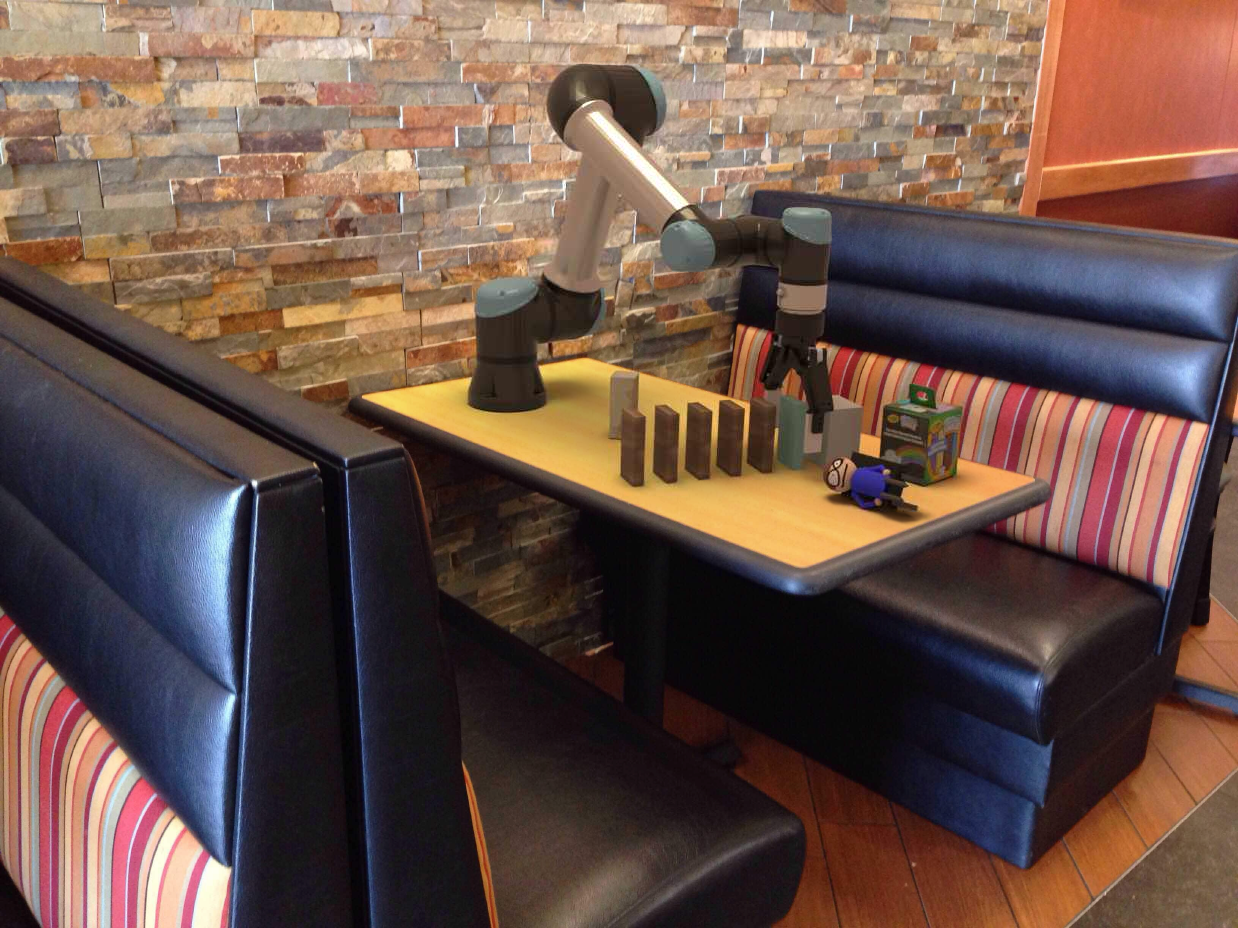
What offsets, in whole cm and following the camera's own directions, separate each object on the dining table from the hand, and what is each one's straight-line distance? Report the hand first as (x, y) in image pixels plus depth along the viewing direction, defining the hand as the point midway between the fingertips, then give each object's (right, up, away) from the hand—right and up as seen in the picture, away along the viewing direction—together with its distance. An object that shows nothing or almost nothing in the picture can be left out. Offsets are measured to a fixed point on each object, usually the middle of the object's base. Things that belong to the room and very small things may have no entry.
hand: (791, 439), depth 178 cm
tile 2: (-21, -6, -6) cm, 22 cm away
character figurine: (+9, -10, -16) cm, 21 cm away
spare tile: (0, -4, +1) cm, 4 cm away
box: (-27, +1, +15) cm, 31 cm away
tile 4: (-10, -5, -2) cm, 12 cm away
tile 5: (-5, -4, 0) cm, 7 cm away
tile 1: (-26, -6, -8) cm, 28 cm away
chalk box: (+20, -6, -2) cm, 21 cm away
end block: (+7, -3, +4) cm, 9 cm away
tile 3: (-16, -5, -4) cm, 17 cm away
